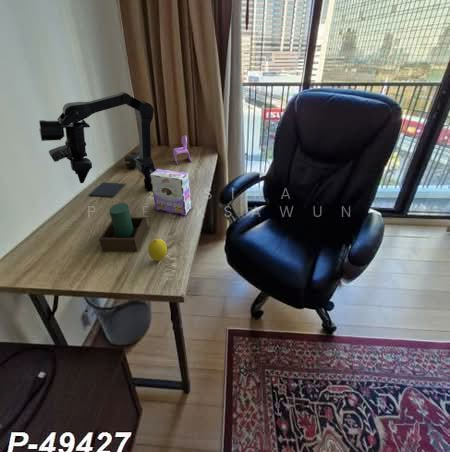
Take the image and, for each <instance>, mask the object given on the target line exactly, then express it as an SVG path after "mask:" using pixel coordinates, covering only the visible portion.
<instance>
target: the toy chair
mask: <svg viewBox="0 0 450 452" xmlns="http://www.w3.org/2000/svg"><path fill="white" fill-rule="evenodd" d="M181 145H182V146H181V147H175V148H173V151H172V153H173V159H174V162H175V163H176V165H179V163H178V161H177V157H178V155H179V154H184V153H185V154H186V156H187V159H188V160H189V161H190V163H192V162H193V161H192V158H191V156H190V152H189V149H188V137H187V135H182V136H181Z"/></svg>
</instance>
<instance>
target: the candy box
mask: <svg viewBox="0 0 450 452" xmlns="http://www.w3.org/2000/svg"><path fill="white" fill-rule="evenodd" d="M150 179H151V184H152V190H153V191H152V195H153V200H154V205H155V210H156V211H161V212H166V213H170V214H176V215H179V216H186V215H187V214H188V213H189V212H190V211H191V209H192V200H191V199H192V198H191V191H190V190H191V189H190V180H189V179H190V178H189V173H188V172H182V171H175V170H168V169H162V168H157V169H156V170H155V171H154V172H153V173H152V174H150Z"/></svg>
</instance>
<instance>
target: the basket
mask: <svg viewBox="0 0 450 452" xmlns="http://www.w3.org/2000/svg"><path fill="white" fill-rule="evenodd" d="M131 220H132V225H133V229H134V234H135V235H134V237H133V238H116V234H115V230H114V226H113V223H112V220H111V221H110V222H109V223H108V225H107V226H106V228H105V230H104V231H103V232H102V234H101V236H100V237H99V238H98V242H99V245H100V248H101V251H102V252H138V251H139V249H140V246H141V245H142V242H143V240H144V238H145V235H146V233H147V231H148V229H149V227H148V223H147V217H146V216H131Z"/></svg>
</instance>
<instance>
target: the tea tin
mask: <svg viewBox="0 0 450 452" xmlns="http://www.w3.org/2000/svg"><path fill="white" fill-rule="evenodd" d="M108 210H109V215H110V219H111V221H112V223H113V226H114V230H115V234H116V238H133V237H134V235H135V234H134V229H133V225H132V220H131V217H132V216H131V212H130V208H129V204H128V203H124V202H120V203H115V204H113V205H112V206H111V207H110V208H109V209H108Z"/></svg>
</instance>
